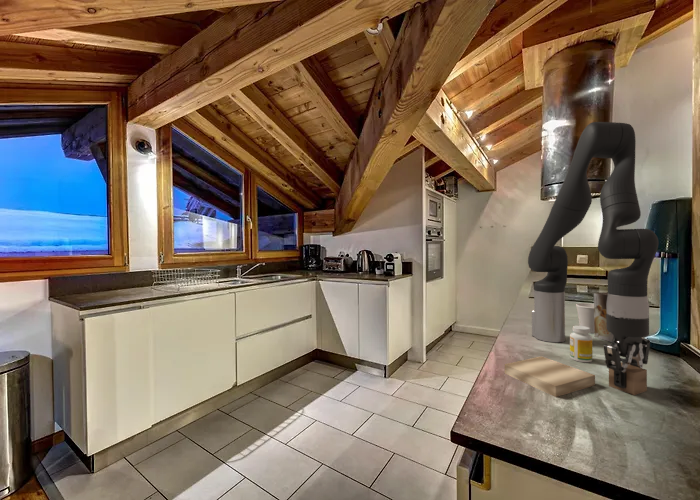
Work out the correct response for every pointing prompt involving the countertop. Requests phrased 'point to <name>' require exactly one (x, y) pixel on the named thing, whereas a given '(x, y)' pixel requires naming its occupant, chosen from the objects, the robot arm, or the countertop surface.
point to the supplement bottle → (581, 344)
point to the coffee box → (601, 317)
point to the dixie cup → (586, 315)
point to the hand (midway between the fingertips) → (627, 384)
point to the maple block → (550, 375)
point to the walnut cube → (632, 380)
